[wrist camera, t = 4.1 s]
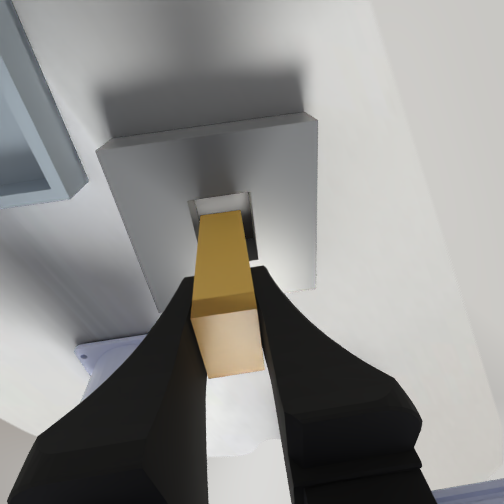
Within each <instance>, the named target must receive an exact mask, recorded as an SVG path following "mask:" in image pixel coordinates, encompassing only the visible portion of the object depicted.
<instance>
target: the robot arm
mask: <svg viewBox="0 0 504 504" xmlns="http://www.w3.org/2000/svg"><path fill="white" fill-rule="evenodd" d="M250 270H251V276H252V282H253V287H254V293H255V299H256V305H257V312H258V320H259V328H260V336H261V344H262V348H263V352H264V356H265V360H266V363H267V367H268V371H269V375H270V379H271V384H272V388H273V394H274V400H275V406H276V412H277V418H278V424H279V430H280V436H281V442H282V448H283V453H284V460H285V466H286V472H287V478H288V484H289V490H290V496H291V502H292V504H504V478H503V479H497V480H491V481H485V482H480V483H474V484H468V485H462V486H457V487H451V488H445V489H439V490H434V491H431V490H430V488H429V486H428V484H427V482H426V480H425V478H424V476H423V474H422V472H421V470H420V468H421V467H422V463H421V460H420V458H419V457H418V455H417V453H416V451H415V449H414V446H415V443H416V441H417V438H418V436H419V433H420V431H421V427H422V419H421V417H420V415H419V413H418V411H417V409H416V407H415V406H414V404H413V403H412V401H411V400H410V398H409V397H408V395H407V394H406V393H405V391H404V390H403V389H402V387H401V386H400V385H399V383H398V382H397V381H396V380H395V378H393V377H391V376H389V375H387V374H386V373H384V372H382V371H380V370H378V369H376V368H375V367H373V366H371V365H369V364H367V363H366V362H364V361H362V360H361V359H359V358H358V357H356V356H355V355H353V354H352V353H350V352H349V351H347V350H346V349H344V348H343V347H342V346H340V345H339V344H337V343H336V342H335V341H333V340H332V339H331V338H329V337H328V336H327V335H325V334H324V333H323V332H322V331H321V330H319V329H318V328H317V327H316V326H315V325H314V324H312V323H311V322H310V321H309V320H308V319H307V318H306V317H305V316H304V315H303V314H302V313H301V312H300V311H299V310H298V309H297V308H296V307H295V306H294V305H293V304H292V302H291V301H290V300H289V299H288V298H287V297H286V295H285V294H284V293H283V292H282V291H281V289H280V288H279V287H278V285H277V284H276V283H275V281H274V280H273V278H272V277H271V275H270V273H269V272H268V270H267V268H266V267H265V266H264V265H263V266H256V267H250ZM193 287H194V276H190V277H184V279H183V280H182V281H181V283H180V285H179V287H178V289H177V290H176V292H175V294H174V295H173V297H172V299H171V300H170V302H169V304H168V305H167V307H166V308H165V310H164V311H163V313H162V315H161V316H160V318H159V319H158V320H157V322H156V323H155V325H154V326H153V327H152V329H151V330H150V332H149V333H148V334H145V335H139V336H132V337H126V338H120V339H113V340H107V341H100V342H94V343H87V344H81V345H77V346H76V348H75V350H74V353H75V354H76V356H77V357H78V359H79V360H80V362H81V363H82V365H83V366H84V368H85V369H86V370H87V372H88V373H89V375H90V376H91V377H90V379H89V382H88V385H87V387H86V390H85V392H84V395H83V397H82V400H81V402H80V404H79V405H77V406H76V407H75V408H74V409H72V410H71V411H70V412H69V413H67V414H66V415H65V416H64V417H62V418H61V419H60V420H58V421H57V422H56V423H55V424H53V425H52V426H51V427H49V428H48V429H47V430H46V431H44V432H43V433H42V434H40V435H39V436H38V437H37V439H36V441H35V443H34V444H33V446H32V448H31V450H30V452H29V454H28V456H27V458H26V460H25V462H24V465H23V467H22V469H21V471H20V473H19V475H18V478H17V480H16V482H15V484H14V486H13V489H12V490H11V493H10V495H9V497H8V500H7V502H8V504H208V485H207V484H208V482H207V454H206V401H205V399H206V381H207V372H206V368H205V365H204V362H203V358H202V355H201V352H200V349H199V345H198V342H197V339H196V335H195V332H194V329H193V325H192V322H191V319H190V318H191V307H192V297H193Z"/></svg>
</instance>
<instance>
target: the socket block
mask: <svg viewBox="0 0 504 504" xmlns="http://www.w3.org/2000/svg"><path fill="white" fill-rule="evenodd" d="M96 154H97V157H98V159H99V162H100V164H101V167H102V169H103V172H104V174H105V177H106V179H107V182H108V185H109V187H110V190H111V192H112V195H113V197H114V200H115V202H116V205H117V207H118V210H119V212H120V215H121V218H122V220H123V223H124V225H125V228H126V230H127V233H128V235H129V238H130V240H131V243H132V246H133V248H134V251H135V253H136V256H137V258H138V261H139V263H140V266H141V268H142V271H143V273H144V276H145V279H146V281H147V284H148V286H149V289H150V291H151V294H152V296H153V299H154V301H155V304H156V307H157V309H158V312H159V313H162V312H163V311H164V310H165V308H166V307H167V305H168V304H169V302H170V300H171V299H172V297H173V295H174V294H175V292H176V290H177V289H178V287H179V285H180V283H181V281H182V280H183V279H184V277H190V276H195V266H196V256H197V245H198V235H199V225H200V222H199V217H198V213H197V209H196V204H195V199H201V198H208V197H215V196H222V195H229V194H236V193H243V192H248V194H249V202H250V210H251V218H252V226H253V234H254V238H251V239H245V240H246V246H247V252H248V258H249V264H250V267H256V266H263V265H264V266H265V267H266V268H267V270H268V272H269V273H270V275H271V277H272V278H273V280H274V281H275V283H276V284H277V285H278V287H279V288H280V289H281V291H282V292H283V293H284V294H286V293H293V292H299V291H306V290H313V289H316V243H317V158H318V120H317V119H315V118H314V117H312V116H310V115H308V114H307V113H305V112H300V113H293V114H286V115H278V116H271V117H264V118H257V119H249V120H242V121H235V122H228V123H220V124H213V125H206V126H198V127H191V128H184V129H177V130H169V131H162V132H155V133H148V134H140V135H133V136H126V137H118V138H112V139H110V140H109V141H108V142H106V143H105V144H104V145H102V146H101V147H100V148H99V149H97V150H96Z"/></svg>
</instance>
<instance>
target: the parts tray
mask: <svg viewBox="0 0 504 504" xmlns="http://www.w3.org/2000/svg"><path fill="white" fill-rule="evenodd" d="M88 182H89V181H88V178H87V176H86V174H85V171H84V169H83V167H82V164H81V162H80V160H79V157H78V155H77V153H76V150H75V148H74V146H73V143H72V141H71V139H70V136H69V134H68V132H67V129H66V127H65V125H64V123H63V120H62V118H61V116H60V113H59V111H58V109H57V106H56V104H55V102H54V99H53V97H52V95H51V92H50V90H49V88H48V85H47V83H46V81H45V78H44V76H43V74H42V71H41V69H40V67H39V64H38V62H37V60H36V57H35V55H34V53H33V50H32V48H31V46H30V43H29V41H28V39H27V36H26V34H25V32H24V29H23V27H22V25H21V22H20V20H19V18H18V15H17V13H16V11H15V8H14V6H13V4H12V1H11V0H0V209H6V208H13V207H20V206H27V205H34V204H41V203H48V202H55V201H62V200H69V199H71V198H72V197H73V196H74V195H75V194H76V193H77V192H78V191H79V190H80V189H81V188H82V187H83V186H84V185H86V184H87V183H88Z"/></svg>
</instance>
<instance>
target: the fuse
mask: <svg viewBox="0 0 504 504" xmlns="http://www.w3.org/2000/svg"><path fill="white" fill-rule="evenodd" d="M190 319H191V322H192V325H193V329H194V332H195V335H196V339H197V342H198V345H199V349H200V352H201V355H202V358H203V362H204V365H205V368H206V372H207V375H208V378H209V379H211V378H217V377H224V376H230V375H237V374H243V373H250V372H256V371H263V370H265V368H264V360H263V352H262V344H261V336H260V328H259V320H258V312H257V305H256V299H255V293H254V287H253V282H252V276H251V270H250V264H249V258H248V252H247V246H246V240H245V234H244V228H243V222H242V216H241V210H237V211H230V212H223V213H215V214H208V215H201V216H200V225H199V235H198V245H197V256H196V266H195V276H194V287H193V297H192V307H191V318H190Z"/></svg>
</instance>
